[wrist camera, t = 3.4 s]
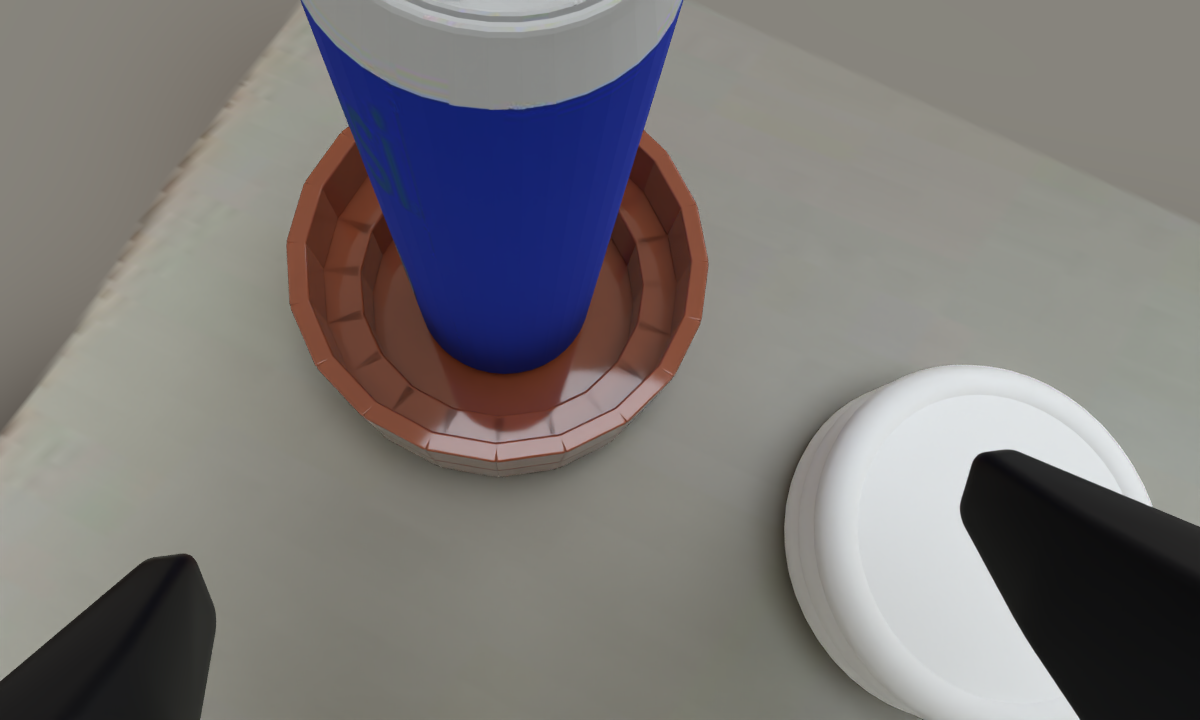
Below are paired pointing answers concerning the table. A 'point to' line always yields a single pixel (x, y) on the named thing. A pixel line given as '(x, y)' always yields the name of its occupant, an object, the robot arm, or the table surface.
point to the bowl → (477, 398)
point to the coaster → (931, 538)
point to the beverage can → (497, 152)
